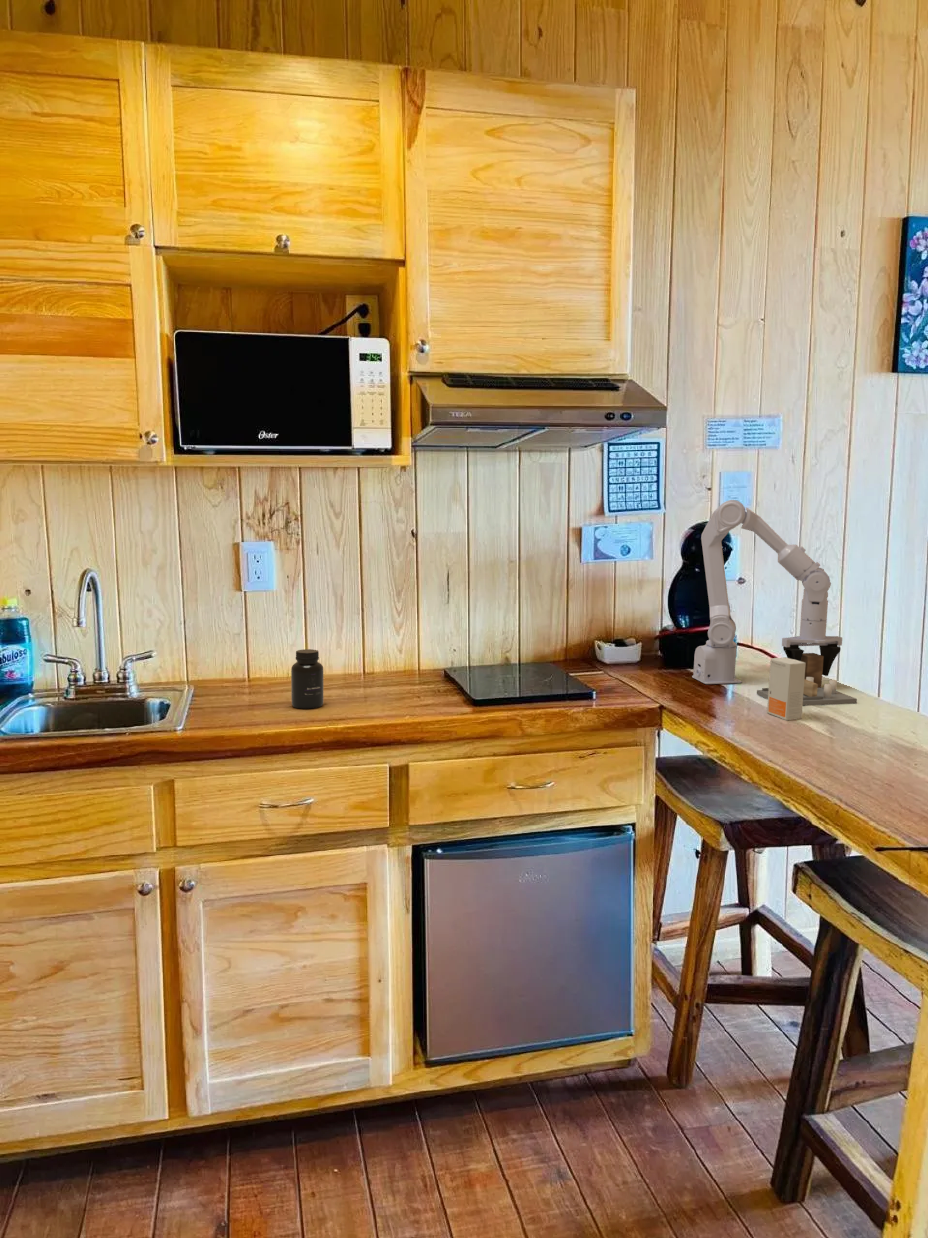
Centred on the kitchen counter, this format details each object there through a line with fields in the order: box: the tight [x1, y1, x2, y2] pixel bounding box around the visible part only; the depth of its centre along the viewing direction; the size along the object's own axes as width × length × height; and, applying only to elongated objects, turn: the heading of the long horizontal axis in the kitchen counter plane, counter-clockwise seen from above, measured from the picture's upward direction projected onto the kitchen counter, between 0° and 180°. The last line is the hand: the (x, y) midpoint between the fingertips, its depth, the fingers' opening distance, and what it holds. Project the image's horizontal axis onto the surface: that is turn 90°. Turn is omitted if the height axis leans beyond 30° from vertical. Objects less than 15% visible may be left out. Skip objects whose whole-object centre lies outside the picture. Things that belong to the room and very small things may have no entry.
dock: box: [756, 677, 858, 706], centre depth 196 cm, size 18×11×4 cm, turn 100°
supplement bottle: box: [290, 648, 324, 710], centre depth 186 cm, size 7×7×12 cm
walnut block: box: [801, 652, 824, 688], centre depth 206 cm, size 4×4×8 cm
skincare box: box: [766, 656, 806, 721], centre depth 180 cm, size 6×4×12 cm
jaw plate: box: [803, 679, 818, 697], centre depth 195 cm, size 1×8×3 cm, turn 11°
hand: (809, 675), depth 206 cm, fingers open, 7 cm apart
